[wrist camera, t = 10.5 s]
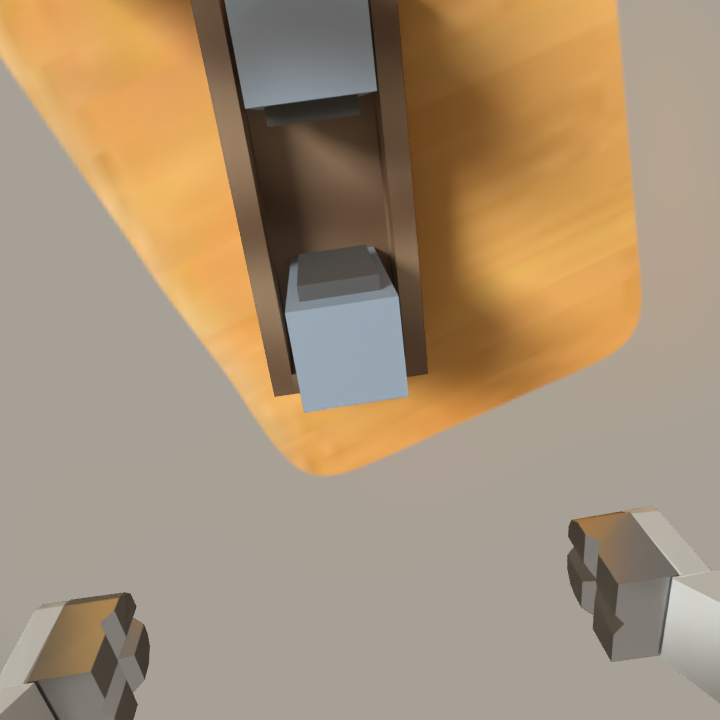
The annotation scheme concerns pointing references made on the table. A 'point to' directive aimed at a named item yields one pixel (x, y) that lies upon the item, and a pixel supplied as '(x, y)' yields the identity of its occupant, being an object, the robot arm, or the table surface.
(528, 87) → the table surface
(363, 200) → the brown wooden open box
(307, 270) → the blue grey rectangular block
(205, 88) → the table surface
